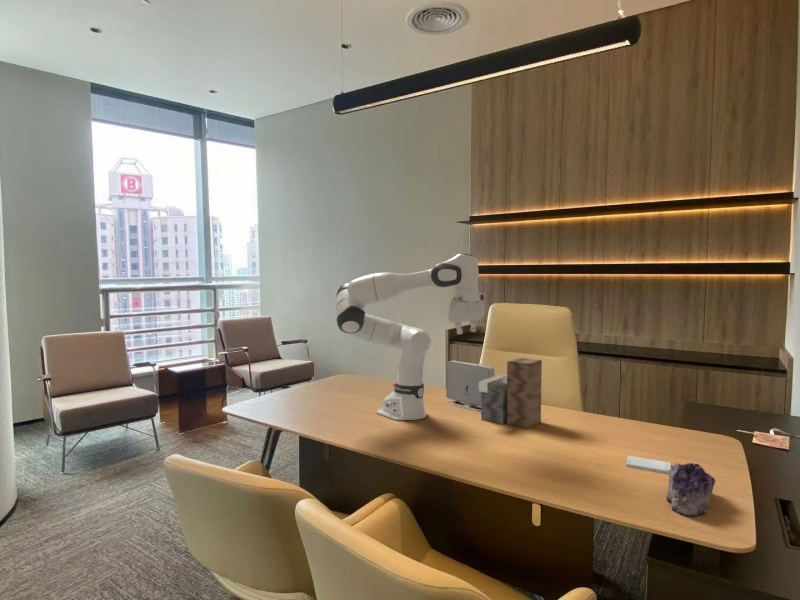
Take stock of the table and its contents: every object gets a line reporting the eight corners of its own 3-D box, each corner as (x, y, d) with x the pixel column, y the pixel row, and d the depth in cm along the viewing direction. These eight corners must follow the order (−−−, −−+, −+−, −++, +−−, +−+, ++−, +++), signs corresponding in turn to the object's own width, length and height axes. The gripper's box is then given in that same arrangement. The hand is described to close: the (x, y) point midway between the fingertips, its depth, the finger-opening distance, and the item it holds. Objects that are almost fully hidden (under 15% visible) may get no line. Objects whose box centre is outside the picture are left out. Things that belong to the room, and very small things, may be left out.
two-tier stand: (481, 419, 201) (481, 358, 200) (495, 413, 211) (495, 355, 210) (528, 429, 188) (528, 364, 187) (540, 422, 197) (541, 360, 196)
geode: (718, 525, 115) (713, 484, 115) (664, 518, 121) (659, 479, 121) (718, 491, 132) (713, 455, 132) (670, 486, 138) (666, 452, 138)
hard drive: (626, 463, 150) (671, 470, 145) (627, 455, 158) (670, 461, 152) (626, 468, 150) (671, 476, 145) (627, 460, 158) (670, 466, 152)
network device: (443, 402, 229) (443, 361, 228) (455, 399, 235) (455, 359, 234) (485, 413, 210) (486, 368, 209) (497, 409, 216) (498, 366, 215)
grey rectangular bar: (478, 391, 193) (478, 381, 192) (504, 382, 210) (504, 373, 209) (487, 392, 190) (487, 382, 190) (512, 383, 207) (512, 374, 207)
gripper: (458, 297, 170) (458, 336, 170) (487, 295, 185) (486, 331, 186) (444, 297, 174) (444, 334, 174) (473, 295, 189) (473, 330, 190)
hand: (466, 332), depth 180 cm, fingers open, 8 cm apart
